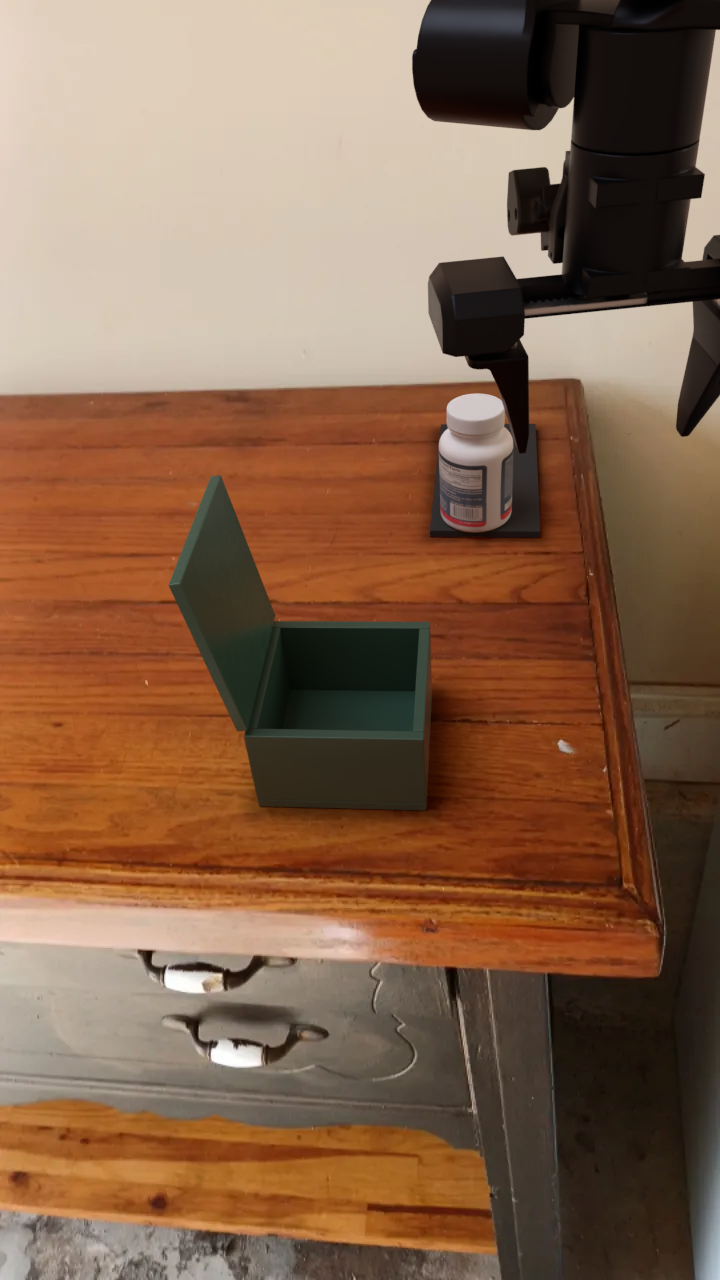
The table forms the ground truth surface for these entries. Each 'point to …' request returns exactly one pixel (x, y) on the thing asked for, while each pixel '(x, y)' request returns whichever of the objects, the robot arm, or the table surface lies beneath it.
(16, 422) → the table surface
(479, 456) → the pill bottle
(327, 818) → the table surface
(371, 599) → the table surface
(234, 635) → the lid
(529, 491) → the mat
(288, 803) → the green square box
